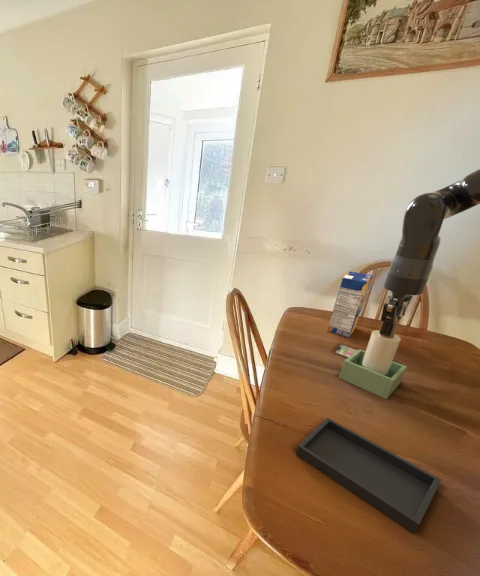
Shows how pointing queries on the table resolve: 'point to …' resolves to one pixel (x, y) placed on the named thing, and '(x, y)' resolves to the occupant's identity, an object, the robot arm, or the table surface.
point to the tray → (370, 472)
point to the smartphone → (345, 351)
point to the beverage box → (349, 303)
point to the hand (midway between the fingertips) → (387, 332)
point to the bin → (371, 375)
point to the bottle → (381, 350)
